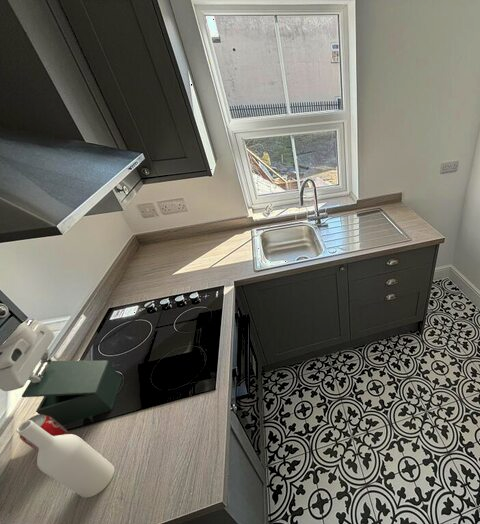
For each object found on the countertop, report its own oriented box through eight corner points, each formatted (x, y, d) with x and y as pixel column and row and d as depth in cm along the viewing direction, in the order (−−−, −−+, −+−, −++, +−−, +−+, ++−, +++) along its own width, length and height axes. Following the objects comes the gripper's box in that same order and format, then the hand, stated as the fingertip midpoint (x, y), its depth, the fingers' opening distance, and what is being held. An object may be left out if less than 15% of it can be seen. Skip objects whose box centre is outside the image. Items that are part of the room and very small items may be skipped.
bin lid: (21, 397, 83) (20, 386, 81) (43, 362, 93) (42, 351, 91) (95, 393, 91) (95, 383, 89) (107, 362, 101) (108, 352, 99)
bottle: (94, 502, 76) (14, 450, 59) (72, 492, 78) (-12, 440, 61) (121, 468, 83) (56, 412, 66) (100, 459, 85) (31, 403, 68)
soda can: (74, 443, 89) (49, 423, 82) (44, 462, 85) (15, 443, 78) (70, 427, 93) (46, 407, 86) (41, 445, 89) (14, 425, 82)
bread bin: (55, 427, 93) (35, 411, 87) (71, 393, 103) (54, 376, 97) (112, 410, 97) (96, 393, 91) (122, 378, 107) (108, 362, 101)
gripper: (19, 318, 87) (47, 348, 95) (-27, 374, 71) (11, 405, 79) (44, 313, 89) (70, 343, 97) (5, 366, 73) (39, 397, 81)
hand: (43, 371), depth 88 cm, fingers closed on bin lid, 5 cm apart
